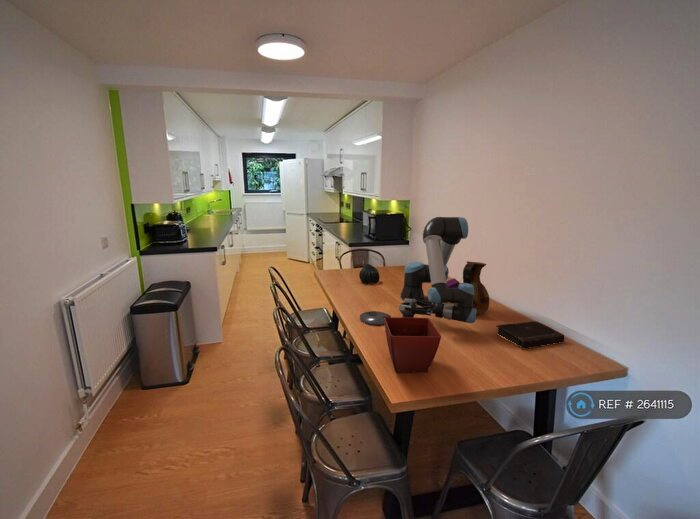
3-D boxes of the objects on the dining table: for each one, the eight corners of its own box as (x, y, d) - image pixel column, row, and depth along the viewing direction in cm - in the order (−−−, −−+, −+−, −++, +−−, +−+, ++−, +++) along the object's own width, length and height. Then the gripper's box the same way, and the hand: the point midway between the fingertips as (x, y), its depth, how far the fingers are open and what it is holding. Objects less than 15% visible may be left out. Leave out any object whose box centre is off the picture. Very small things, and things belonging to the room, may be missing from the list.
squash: (380, 279, 244) (379, 261, 251) (359, 280, 244) (359, 261, 252) (379, 288, 256) (378, 270, 264) (359, 288, 257) (359, 270, 264)
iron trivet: (379, 311, 197) (379, 309, 197) (397, 322, 183) (397, 319, 182) (353, 316, 189) (354, 314, 188) (371, 328, 174) (371, 325, 174)
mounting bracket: (438, 303, 231) (463, 292, 230) (434, 293, 229) (459, 281, 228) (434, 299, 240) (458, 288, 239) (430, 288, 238) (454, 278, 237)
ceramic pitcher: (493, 312, 201) (499, 262, 194) (479, 321, 186) (485, 268, 180) (461, 303, 214) (466, 257, 207) (446, 311, 199) (450, 261, 193)
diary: (563, 344, 162) (565, 334, 161) (522, 351, 155) (524, 341, 153) (532, 328, 180) (533, 319, 178) (493, 334, 172) (494, 324, 171)
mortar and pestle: (396, 315, 187) (397, 294, 185) (410, 313, 191) (412, 292, 188) (406, 322, 177) (407, 300, 174) (421, 320, 180) (423, 299, 178)
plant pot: (426, 353, 149) (428, 317, 146) (438, 377, 131) (442, 336, 127) (382, 353, 149) (384, 316, 145) (388, 377, 130) (390, 336, 126)
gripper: (439, 325, 166) (395, 317, 175) (447, 310, 186) (407, 304, 195) (440, 311, 165) (396, 303, 174) (448, 297, 185) (407, 291, 194)
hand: (401, 303), depth 184 cm, fingers closed on mortar and pestle, 10 cm apart
